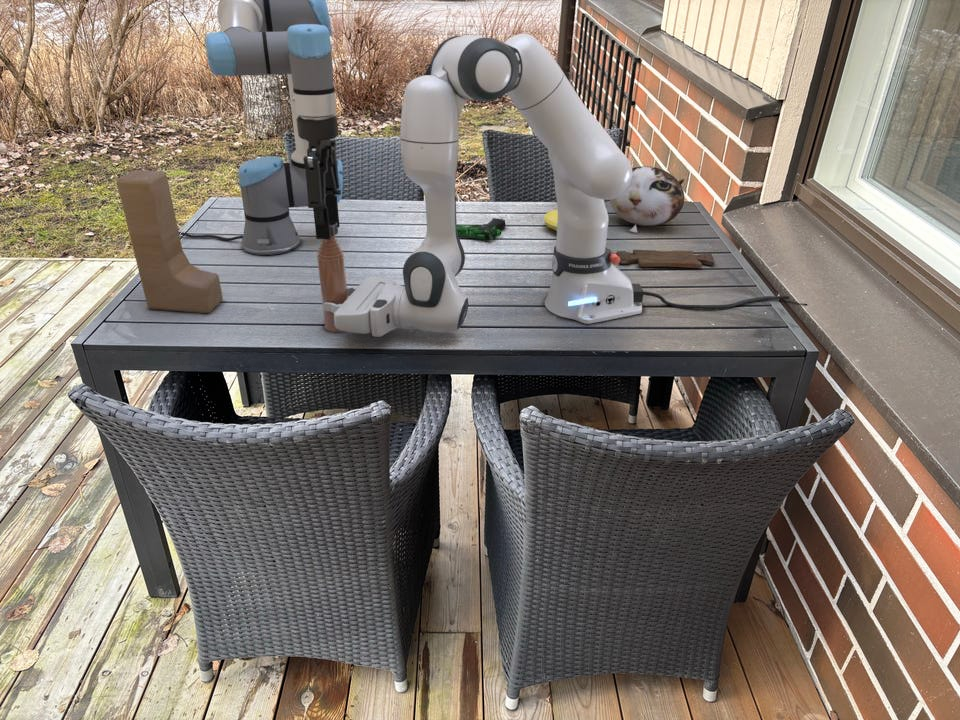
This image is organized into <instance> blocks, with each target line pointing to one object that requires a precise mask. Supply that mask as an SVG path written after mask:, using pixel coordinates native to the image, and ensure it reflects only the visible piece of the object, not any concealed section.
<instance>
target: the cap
mask: <svg viewBox="0 0 960 720" xmlns="http://www.w3.org/2000/svg"><path fill="white" fill-rule="evenodd" d="M329 226H330V236H334V235H335V236H337V235H338V233H339V228H338V225H337V221H335V220H329Z"/></svg>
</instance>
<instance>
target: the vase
mask: <svg viewBox="0 0 960 720" xmlns="http://www.w3.org/2000/svg"><path fill="white" fill-rule="evenodd" d="M543 222H544V225H545V226H546V227H548V228H550V229H551V230H554V231H556V232H557V222H558V210H557V209H552V210H549V211H548V212H547V213H545V214H544V216H543Z"/></svg>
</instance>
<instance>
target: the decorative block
mask: <svg viewBox="0 0 960 720" xmlns="http://www.w3.org/2000/svg"><path fill="white" fill-rule="evenodd" d="M116 185H117V190H118V194H119V198H120V202H121V205H122V211H123V213H124V218H125V222H126V225H127V229H128V234H129V237H130V243H131V246H132V250H133V254H134V258H135V261H136V262H135V263H136V266H137V270H138V273H139V274H138V275H139V278H140V282H141V285H142V290H143V294H144V299H145V302H146V307H147V308H148V309H150V310H162V311H163V310H164V311H177V312H187V313H188V312H190V313H200V314H201V313H202V314H209V313H211V312H212V311H213V310H214V309H215V308H216V307H217V306H218V305H219V304H221V302H222V301H223V298H224V297H223V292H222V287H221V282H220V277H219V274H218V273H216V272H211V271H208V270H207V271H206V270H202V269H199V268H198V267H196V266H195V265H193V264H191V262H190V261H189V258H188V256H187V255H186V254H185V252H184V250H183V246H182V241H181V235H179V232H180V231H179V227H178V222H177V217H176V213H175V208H174V203H173V198H172V194H171V189H170V185H169V180H168V175H167V173H166V171H159V170H143V169H135V170H132V171H130V172H128V173H127V174H125V175H122V176H121V177H119V178H116Z"/></svg>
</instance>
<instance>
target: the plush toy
mask: <svg viewBox="0 0 960 720" xmlns="http://www.w3.org/2000/svg"><path fill="white" fill-rule="evenodd" d="M684 181H685V179H684V178H682V179H680V180H678V179H677V178H676V177H675V176H674V175H673V174H671V173H670V172H668V171H666V170H664V169H662V168H659V167H656V166H650V165H649V166H647V165H645V166H642V165H641V166H635V167H632V179H631V182H630V184H629V186H628V188H627V189H626V190H625V192H624V193H623V194H621V195H620V196H619V197H617V198H615V199H611V200H609V203H610V206H611V208H612V210H613V211H614V212H615V213H616V214H617V216H618V217H619V218H621V219H623V220H624V221H625V222H628V223H630V224H633V227H632V228H630V229H629V230H628V231H629V232H632V233H639V232H638V229H637V226H641V227H657V226H661V225H664V224H667V223H668V222H670V221H672V220H674V219H675V218H676V217H677V216H678V215H679V214H680V213H681V211H682V210H683V206H684V204H685V192H684V188H683V186H682V184H684Z"/></svg>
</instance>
